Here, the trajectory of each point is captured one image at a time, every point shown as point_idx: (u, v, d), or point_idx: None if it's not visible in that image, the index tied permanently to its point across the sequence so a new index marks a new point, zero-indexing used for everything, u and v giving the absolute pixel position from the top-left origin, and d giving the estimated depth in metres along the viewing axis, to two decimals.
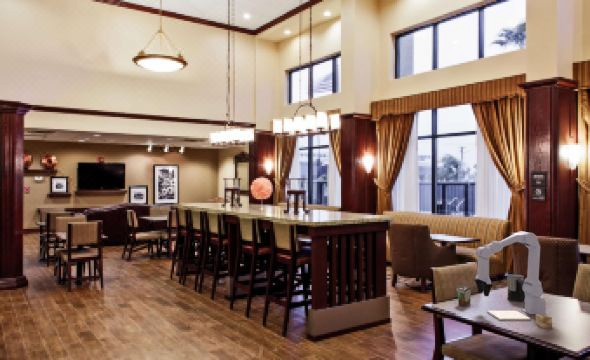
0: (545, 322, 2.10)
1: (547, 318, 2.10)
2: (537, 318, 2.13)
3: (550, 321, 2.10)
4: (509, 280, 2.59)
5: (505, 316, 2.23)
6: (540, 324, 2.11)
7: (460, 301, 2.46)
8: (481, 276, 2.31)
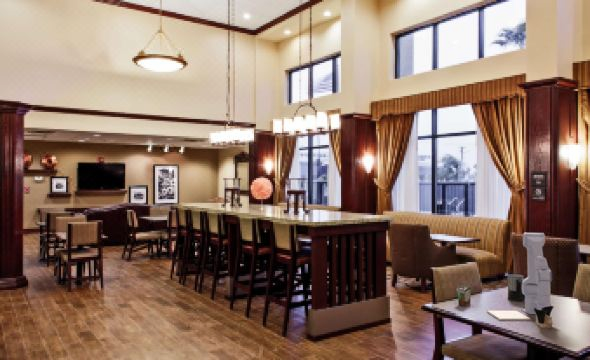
0: (545, 322, 2.10)
1: (547, 318, 2.10)
2: (537, 319, 2.13)
3: (550, 321, 2.10)
4: (509, 280, 2.59)
5: (505, 316, 2.23)
6: (540, 324, 2.11)
7: (460, 301, 2.46)
8: (538, 301, 2.12)
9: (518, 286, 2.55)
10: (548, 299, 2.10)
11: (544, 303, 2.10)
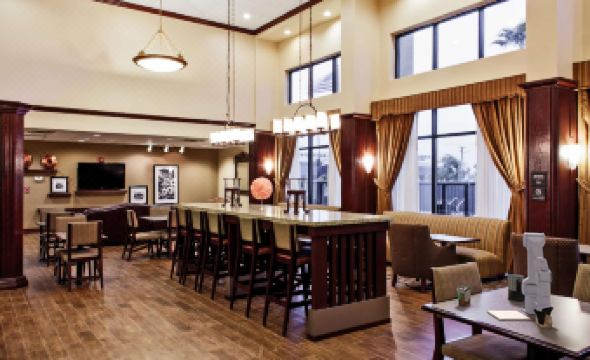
0: (545, 322, 2.10)
1: (547, 318, 2.10)
2: None
3: (550, 321, 2.10)
4: (509, 280, 2.59)
5: (505, 316, 2.23)
6: (540, 324, 2.11)
7: (460, 301, 2.46)
8: (538, 302, 2.12)
9: (518, 286, 2.55)
10: (548, 300, 2.10)
11: (544, 304, 2.10)
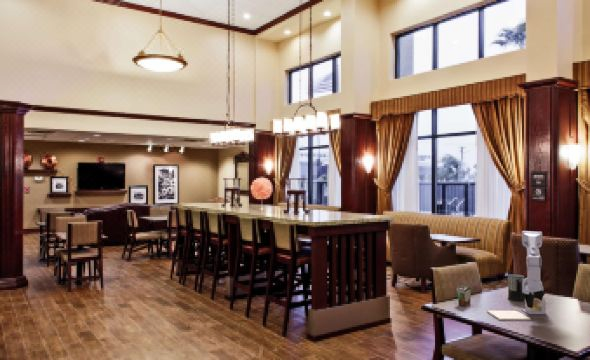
0: (534, 305, 2.14)
1: (536, 301, 2.14)
2: None
3: (540, 305, 2.13)
4: (510, 280, 2.59)
5: (505, 316, 2.23)
6: None
7: (460, 301, 2.46)
8: (528, 286, 2.17)
9: (518, 286, 2.55)
10: (537, 284, 2.13)
11: (533, 288, 2.14)
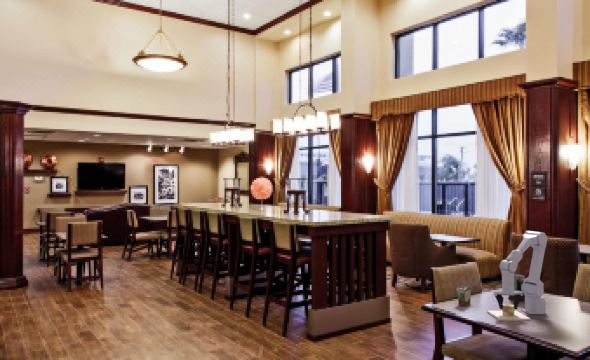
0: (506, 310, 2.25)
1: (508, 307, 2.24)
2: None
3: (511, 310, 2.24)
4: None
5: (505, 316, 2.23)
6: None
7: (460, 301, 2.46)
8: None
9: (519, 286, 2.56)
10: (508, 287, 2.25)
11: (504, 291, 2.26)
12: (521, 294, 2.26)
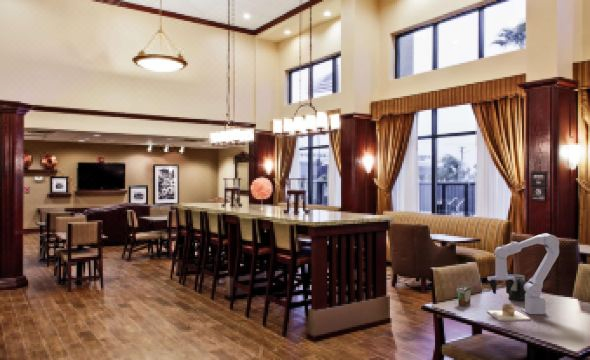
0: (506, 310, 2.25)
1: (508, 307, 2.24)
2: None
3: (511, 310, 2.24)
4: None
5: (505, 316, 2.23)
6: None
7: (460, 301, 2.46)
8: None
9: (519, 286, 2.56)
10: (501, 273, 2.35)
11: (497, 276, 2.37)
12: (513, 279, 2.37)
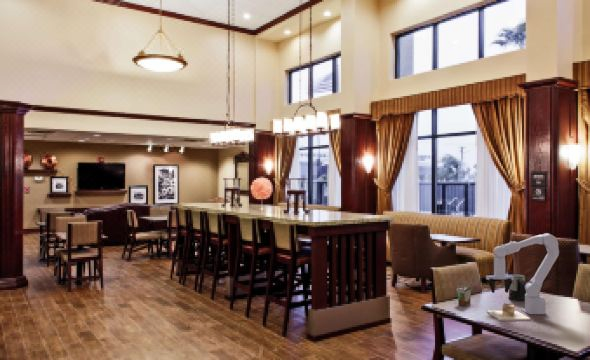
0: (506, 310, 2.25)
1: (508, 307, 2.24)
2: None
3: (511, 310, 2.24)
4: None
5: (505, 316, 2.23)
6: None
7: (460, 301, 2.46)
8: None
9: (519, 286, 2.56)
10: (499, 272, 2.38)
11: (496, 275, 2.39)
12: (512, 278, 2.39)
